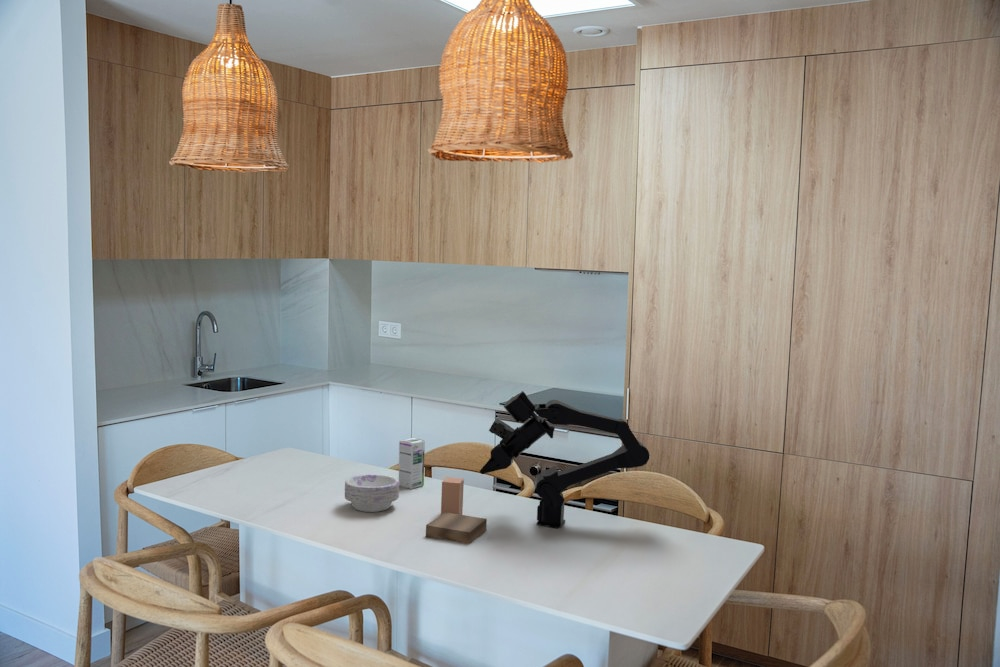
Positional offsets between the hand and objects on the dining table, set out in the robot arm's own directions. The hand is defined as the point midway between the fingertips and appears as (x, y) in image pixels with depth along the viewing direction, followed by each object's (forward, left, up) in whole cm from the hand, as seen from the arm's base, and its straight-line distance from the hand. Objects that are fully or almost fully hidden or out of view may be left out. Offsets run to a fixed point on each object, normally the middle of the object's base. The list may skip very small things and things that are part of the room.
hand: (484, 468), depth 224 cm
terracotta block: (+8, +2, -14) cm, 16 cm away
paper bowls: (+31, +6, -14) cm, 35 cm away
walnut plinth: (+1, +15, -14) cm, 20 cm away
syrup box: (+31, -19, -14) cm, 39 cm away
